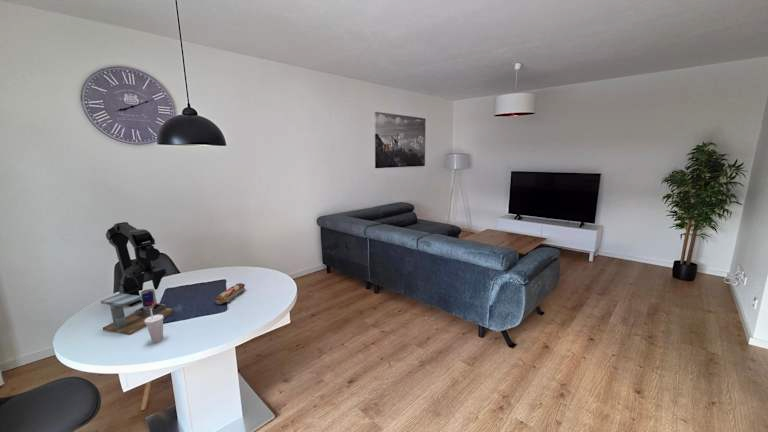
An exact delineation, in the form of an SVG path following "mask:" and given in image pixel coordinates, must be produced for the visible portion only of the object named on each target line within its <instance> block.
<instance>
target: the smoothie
mask: <svg viewBox="0 0 768 432" xmlns="http://www.w3.org/2000/svg"><path fill="white" fill-rule="evenodd" d="M150 312H151V316H150V317H148V318H146V319H145V324H146V328H147V331H148V333H149V336H150V339H151V341H152V343H158V342H161V341H162V340H163V339H164V318H165V317H163V315H153V313H152V308H150Z"/></svg>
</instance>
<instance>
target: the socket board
mask: <svg viewBox="0 0 768 432" xmlns="http://www.w3.org/2000/svg"><path fill="white" fill-rule="evenodd" d="M140 299H141V300H142V296H141V295H140V296H138V295H130V294H122V293H119V292H118V293H117V294H114V295H112V296H110V297H107V298H105V299H101V300H100V304H103V305H109V309H110V313H111V319H112V323H109V324H107V325H105V326H103V327H102V331H106V332H111V333H112V332H113V333H115V334H116V333H118V334H122V335H129V336H131V335H134V333H137V332H138V331H140V330H142V329H144V328H147V326H146V324H145V319H146V318H148V317H150V316H151V312H148V311H144V309H143V306H142V307H139V308H138V309H136V310H134V312H132V313H130V314H128V315H126V314H125V310H124V308H125V307H128V306H127V305H129V304H131V303H134V302H136V301H138V300H140ZM174 312H175V309H174V308H169V307H167V304H165V303H157V308H156V309H154V310H152V313H153V315H163V317H164V318H165V317H167V316H168V315H171V314H172V313H174Z"/></svg>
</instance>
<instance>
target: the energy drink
mask: <svg viewBox="0 0 768 432" xmlns="http://www.w3.org/2000/svg"><path fill="white" fill-rule="evenodd" d="M140 296H142V299H141V300H142V302H141V303H142V307H143V309H144V311H148V312H150V308H152V310H154V309H156V308H157V298H156V290H155V289H154V288H148V289H145V290H141V292H140Z"/></svg>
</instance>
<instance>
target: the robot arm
mask: <svg viewBox="0 0 768 432" xmlns="http://www.w3.org/2000/svg"><path fill="white" fill-rule="evenodd" d="M105 237H106V240H107V241H108V243H109V244H110V245H111V246H113V247H114V249H115V252H116V256H117V259H118V263H119V267H120V270H121V273H122V276H121V279H120V280H119V283H120V284H119V288H118V294H119V293H122V294H130V295H138V296H141V293H140V291H144V290H143V289H144V282H145V274H147V275H148V279H149V280H150V281H152V285H153V289H154V291H156V290H158V289H159V287H160V284H161V281H162V279H163V277H164V276H165V275H167V273H168V272H167V268H164V267H157V268H156V266H155V265H153V261H156V260H158V259H159V258H160V256H161V252H160V250H159V249H158V248H155V245H156V239H155V238H154V237H153V235H152V233H151V232H150V231H148V230H147V229H144V228H141V229H140V228H139V229H138V228H136V227H135V226H133V225H131V224H129V222H128V221H122V222H116V223H114V224H113V226H111V227H110V228H109V229H107V231H106V233H105ZM128 243H130V245H132V248H133V250H134V257H135V260H133V263H132V259H131V257H130V253H129V252H130V251H129V248H128ZM141 303H142V299H140V300H138V301H136V302H134V303H131V304H129V305H127V306H126V307H134V306H136V305H139V304H141Z"/></svg>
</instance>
